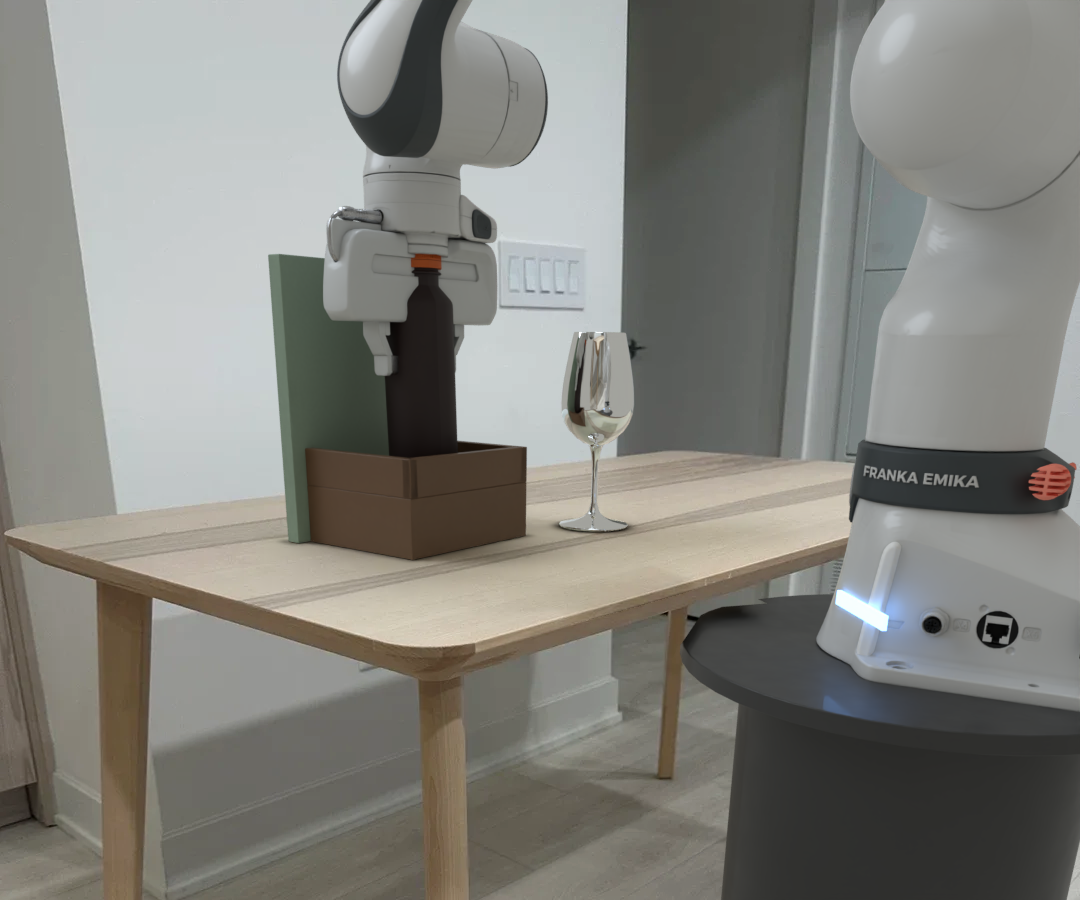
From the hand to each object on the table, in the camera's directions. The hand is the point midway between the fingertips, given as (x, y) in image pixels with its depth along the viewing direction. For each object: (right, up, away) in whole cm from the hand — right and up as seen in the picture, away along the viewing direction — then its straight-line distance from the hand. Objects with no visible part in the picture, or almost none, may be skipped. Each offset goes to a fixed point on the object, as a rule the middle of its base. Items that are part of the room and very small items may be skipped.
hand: (417, 374), depth 98 cm
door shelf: (0, -15, +6) cm, 16 cm away
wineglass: (+18, -12, +14) cm, 26 cm away
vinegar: (0, -8, +3) cm, 9 cm away
